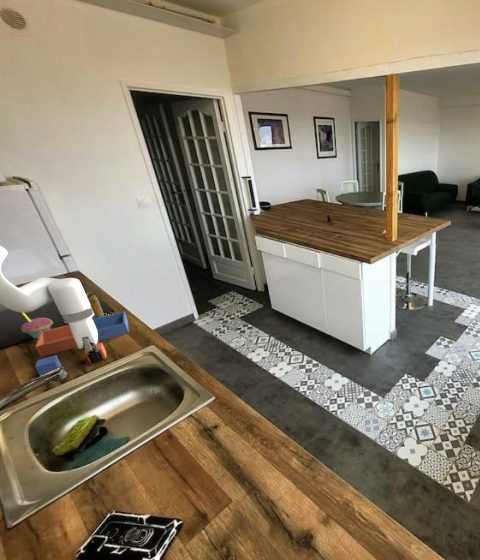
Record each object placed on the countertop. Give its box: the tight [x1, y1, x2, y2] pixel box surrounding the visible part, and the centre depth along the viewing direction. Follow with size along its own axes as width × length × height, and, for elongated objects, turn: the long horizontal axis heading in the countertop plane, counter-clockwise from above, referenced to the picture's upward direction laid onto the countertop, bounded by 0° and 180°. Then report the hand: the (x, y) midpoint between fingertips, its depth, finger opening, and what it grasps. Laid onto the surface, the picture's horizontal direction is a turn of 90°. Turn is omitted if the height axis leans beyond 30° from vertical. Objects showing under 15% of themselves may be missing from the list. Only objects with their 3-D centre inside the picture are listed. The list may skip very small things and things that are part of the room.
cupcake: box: [20, 312, 54, 339], centre depth 122 cm, size 9×8×12 cm
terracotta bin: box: [35, 324, 84, 358], centre depth 119 cm, size 12×12×4 cm
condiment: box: [85, 291, 109, 319], centre depth 134 cm, size 7×8×12 cm
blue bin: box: [93, 311, 130, 342], centre depth 126 cm, size 12×12×4 cm
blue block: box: [34, 354, 62, 376], centre depth 104 cm, size 4×4×4 cm
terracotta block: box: [84, 341, 107, 364], centre depth 111 cm, size 4×4×4 cm
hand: (97, 356), depth 112 cm, fingers closed on terracotta block, 4 cm apart
